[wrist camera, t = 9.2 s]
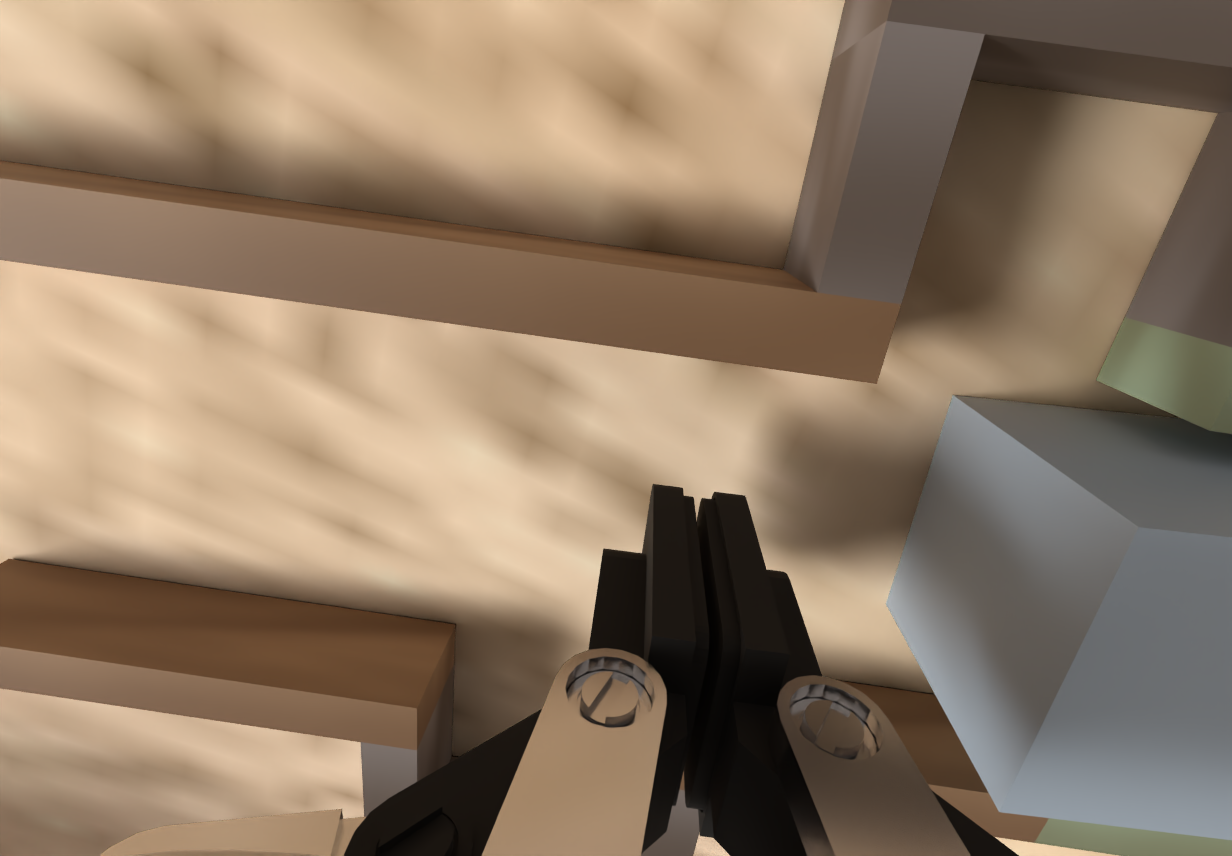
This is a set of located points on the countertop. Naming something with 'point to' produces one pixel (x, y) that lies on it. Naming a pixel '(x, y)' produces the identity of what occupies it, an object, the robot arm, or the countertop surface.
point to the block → (1079, 610)
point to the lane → (634, 319)
